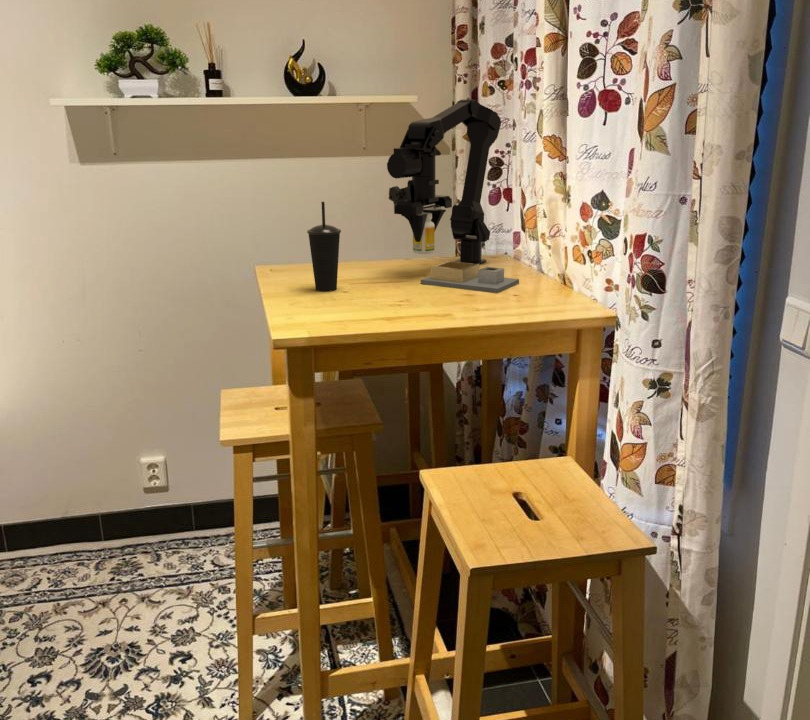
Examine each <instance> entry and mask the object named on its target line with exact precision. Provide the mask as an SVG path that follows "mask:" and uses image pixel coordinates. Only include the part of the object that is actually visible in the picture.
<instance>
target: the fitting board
mask: <svg viewBox="0 0 810 720" xmlns="http://www.w3.org/2000/svg"><path fill="white" fill-rule="evenodd" d="M420 284H421V285H428V286H435V287H436V286H437V287H443V288H444V287H445V288H452V289H461V290H467V291H469V290H470V291H476V292H477V291H478V292H485V293H492V294H493V293H494V294H499V293H501V292H503V291H505V290H508V289H509V288H512V287H514V286H516V285H519V284H520V279H519V278H512V277H504V281H503V282H501V283H498V284H496V285H495V284H486V283H478V277H476V278H474V279H471V280H469V281H466V282H463V283H460V282H451V281H443V280H434V279H431V275H429V276H427V277H424V278H422V279H420Z"/></svg>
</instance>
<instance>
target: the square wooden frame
mask: <svg viewBox="0 0 810 720" xmlns="http://www.w3.org/2000/svg"><path fill="white" fill-rule="evenodd" d="M479 269H480V264H473V263H464V262H455V261H452V260H447V261H444V262H440V263H438V264H435V265H431V266H430V276H431V279H434V280H443V281H451V282H460V283H463V282H466V281H469V280H471V279H474V278H476V277H478V270H479Z"/></svg>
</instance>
